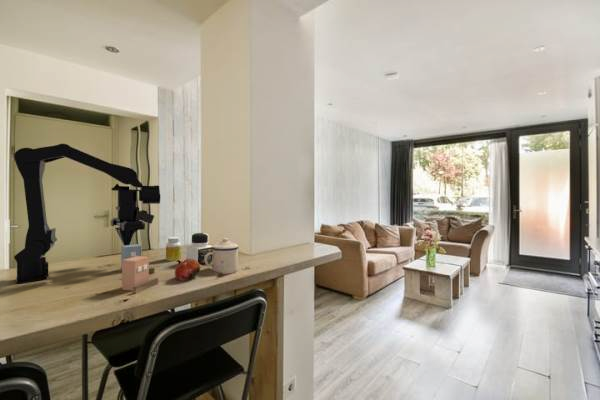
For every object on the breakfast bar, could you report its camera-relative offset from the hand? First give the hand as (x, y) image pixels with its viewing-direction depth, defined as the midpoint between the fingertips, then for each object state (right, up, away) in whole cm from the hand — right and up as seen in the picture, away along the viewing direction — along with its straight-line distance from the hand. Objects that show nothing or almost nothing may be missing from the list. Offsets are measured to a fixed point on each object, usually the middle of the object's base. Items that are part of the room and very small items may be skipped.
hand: (126, 247), depth 98 cm
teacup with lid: (+33, -9, 0) cm, 35 cm away
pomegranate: (+27, -9, -12) cm, 30 cm away
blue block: (+4, -7, -4) cm, 8 cm away
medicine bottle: (+23, -8, +9) cm, 26 cm away
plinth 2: (+7, -8, -6) cm, 12 cm away
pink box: (+16, -7, -21) cm, 27 cm away
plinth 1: (+14, -8, -21) cm, 26 cm away
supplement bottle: (+11, -8, +11) cm, 18 cm away
